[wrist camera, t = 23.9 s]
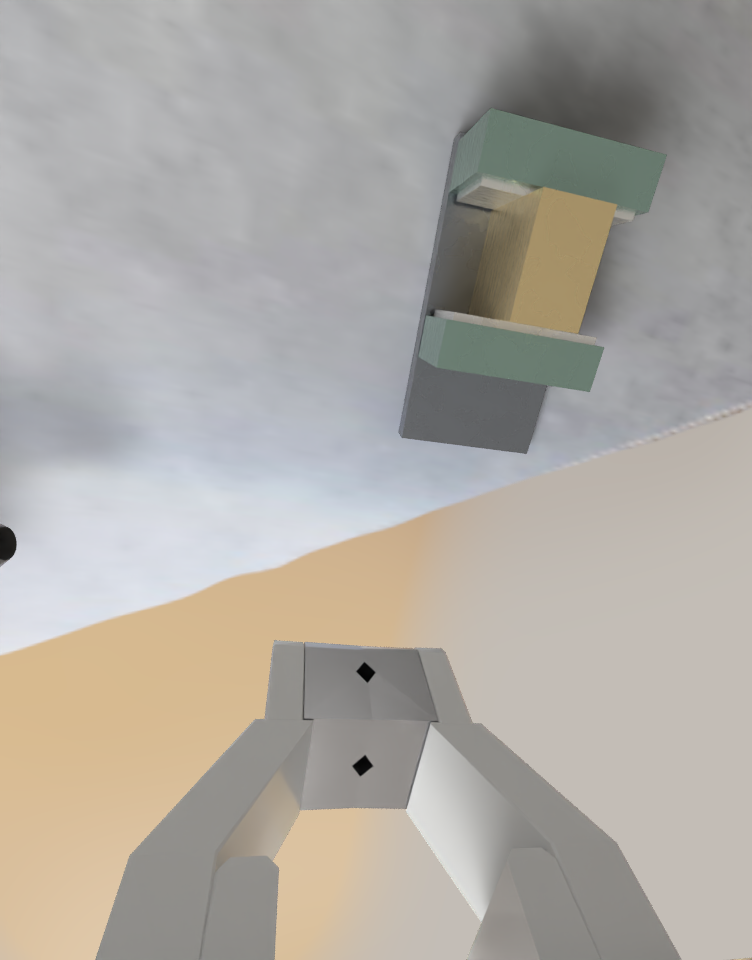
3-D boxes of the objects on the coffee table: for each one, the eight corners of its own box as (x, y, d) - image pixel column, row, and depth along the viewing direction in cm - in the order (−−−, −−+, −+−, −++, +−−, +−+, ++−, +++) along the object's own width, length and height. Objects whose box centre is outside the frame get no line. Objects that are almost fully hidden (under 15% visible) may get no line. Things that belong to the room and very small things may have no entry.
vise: (454, 139, 32) (493, 96, 25) (597, 174, 34) (669, 144, 27) (398, 432, 39) (417, 462, 33) (519, 448, 41) (561, 479, 34)
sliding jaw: (427, 308, 34) (448, 310, 29) (564, 332, 36) (606, 339, 31) (418, 356, 36) (436, 367, 30) (550, 378, 38) (589, 392, 32)
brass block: (468, 315, 35) (509, 321, 28) (491, 210, 33) (543, 186, 25) (523, 325, 36) (578, 333, 29) (550, 224, 34) (617, 204, 26)
